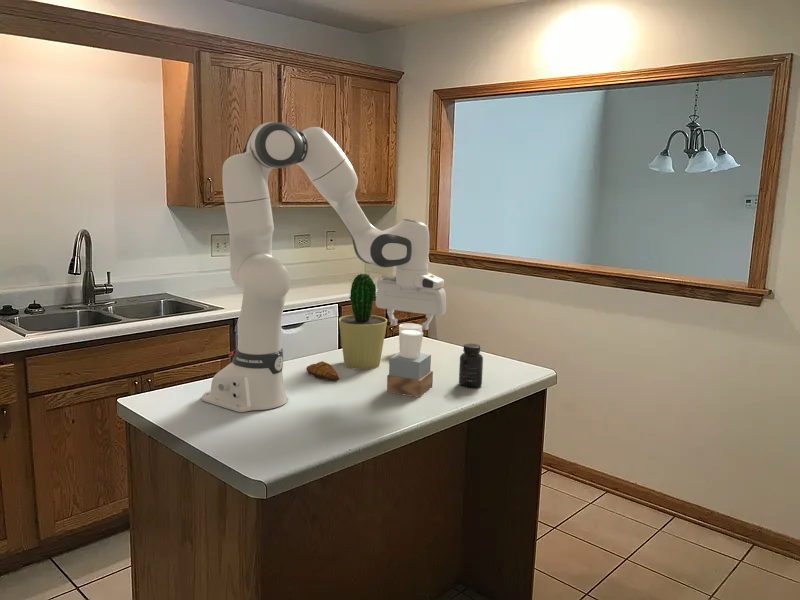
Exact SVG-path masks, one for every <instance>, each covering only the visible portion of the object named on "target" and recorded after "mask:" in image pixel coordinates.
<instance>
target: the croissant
mask: <svg viewBox="0 0 800 600" xmlns="http://www.w3.org/2000/svg"><path fill="white" fill-rule="evenodd" d="M305 368H306V372H307V373H308V374H309V375H310V376H313V377H315V378H316V379H321V380H326V381H329V382H330V381H332V382H338V381H339V380H340V375H339V373H338V372H337V370H336V369H335V368H334V367H333V366H332V365H331V364H330V363H328V362H326V361H322V360H321V361H318V362H317V363H312V364H310V365H307V366H306V367H305Z"/></svg>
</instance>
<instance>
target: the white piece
mask: <svg viewBox="0 0 800 600" xmlns="http://www.w3.org/2000/svg"><path fill="white" fill-rule="evenodd" d="M398 333H399V334H398V336H399V338H398V341H399V343H400V344H399V343H398V344H399V352H400V356H401V357H403V358H407V359H416V358H419V357H420V353H421V349H422V343H423V338H424V332H423V331H422V332H421V331H419V330H413V329H404V330H400V331H399V330H398Z"/></svg>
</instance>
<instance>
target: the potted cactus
mask: <svg viewBox="0 0 800 600" xmlns="http://www.w3.org/2000/svg"><path fill="white" fill-rule="evenodd" d="M353 278H354V279H353V280H352V279H351V280H349V282H350V283H351V285H349V287H350V292H348V294H349V299H350V300H349V299H348V300H347V301H348V302H349V303H348V304H351V310H352V311H350V312H351V314H349V315H344V316H341V317H339V318H338V322H339V323H338V325H339V332H340V341H341V346H342V347H341V348H342V355H343V356H342V357H343V363H344V366H345V365H346V366H345V367H347V368H349V369H353V368H354V369H353V370H372V368H373V369H376V368H378V367H379V366H380V364H381V359H382V354H383V353H382V352H383V346H384V342H385V337H386V336H385V335H386V330H387V325H388V324H387V323H388V319H387V318H385V317H383V316H379V315H374V314H373V315H372V312H373V310H375V308H374V305H375V301H376V295H377V290H378V289H377V282H375V283H374V280H375V279H374V277H373V278H372V277H371V276H370V273H368V274H367V273H357V275H355V276H353Z"/></svg>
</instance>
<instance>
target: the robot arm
mask: <svg viewBox="0 0 800 600" xmlns="http://www.w3.org/2000/svg"><path fill="white" fill-rule="evenodd" d="M348 158H349V157H347V155H346V154H345V153H344V151H343V150H342V148H341V147H340V146H339V144H338V143H337V142H336V141H335V140H334V138H333V137H332V136H331V135H330V134H329V133H328V132H327V131H326V130H325V129H323V128H322V127H320V126H311V127H307V128H305V129H303V130H302V131H300V130H298V129H296V128H294V127H292V126H291V125H289V124H286V123H283V122H279V121H278V122H277V121H267V122H264V123H262V124H259V125H257V126H256V127H255V128H253V130H252V131H251V132H250V133H249V135H248V137H247V140H246V144H245V146H244V149H243V150H242V153H236V154H233V155H231V156H229V157H228V158H227V159H225V161H224V162H223V165H222V174H221V175H222V192H223V194H222V195H223V201H224V207H225V213H226V214H225V215H226V220H227V226H228V233H229V262H230V269H229V274H230V277H231V279H232V282H233V283H234V285H235V286H236V287H237V288H238V289H239V290H241V292H242V301H241V307H240V308H241V309H240V312H239V313H240V314H239V316H238V319H237V348H236V349H234V350H233V351H229V355H228V357H229V358H230V357H233V358H232V359H231V362H230V363H229V364H227V365H226V366H225V367H223V368H222V369H221V370H220V371H218V372H217V373H215V374H214V376H213V378H212V380H211V384H210V385H211V386H210V389H208V390H207V391H206V392H204V393H203V394H202V396H201V401H203V402H206V403H208V404H212V405H214V406H215V405H216V406H218V407H222V408H225V409H228V410H231V411H235V412H237V413H246V412H250V411H262V410H270V409H274V408H278V407H282V406H283V405H285V404H286V403H287V402H288V399H289V398H288V396H287V394H286V393H287V392H286V389H285V383H284V378H283V368H284V350H283V347H282V319H283V311H284V307H285V303H286V298H287V296H286V295H287V294H288V293H289V290H290V288H291V284H292V283H291V282H292V280H291V276H290V272H289V271H288V269H287V268H286V267H285V265H284V264H283V263H282V262H281V261H280V260H279V259H276V258H274V256H273V251H272V250H273V247H272V246H273V234H274V231H275V225H274V219H273V218H274V217H273V210H272V205H271V204H272V203H271V197H270V192H269V187H268V186H269V185H268V182H269V181H268V180H269V175H270V172H271V171H272V169H273V170H274V169H283V168H288V167H290V166H291V167H292V166H294V165H298V167H300V168H301V170H303V172H305V174H306V175H307V177H308V179H309V180H310V182H311V183H312V185H313V186H314V187H315V189H316V190H317V191H318V192H319V194H321V196H322V197H323V198H324V199H325V201H327V203H328V204H330V205H329V206H331V207H332V208H333V209H334V211H335V213H337V215H338V217H339V218H340V220H341V221H342V224H343V225H344V227H345V228H346V230H347V231H348V233H349V235H350V237H351V240H352V245H353V249H354V253H355V255H356V257H357V258H358V259H359V260H360V261H361V262H362V263H364V264H365V263H366V264H369V265H374V266H376V267H380V268H382V269H383V268H385V269H386V268H392V267H396V269H395V274H396V275H395V276H392V275H391V276H387V275H382V276H380V277H379V278H378V279H377V281H376V290H377V291H376V297H375V307H376V308H378V309H382V310H386V313H387V316H388V319H389V320H390V324H389V325H390V326H394V327H395V326H397V325H398V318H395V315H394V313H395V311H400V312H408V313H414V314H421V315H422V314H424V315H425V318H426V319H427V320H426V321H424V322H422V323H421V325H422V331H423V330H424V331H427V330H429V328H430V323H431V321H432V320H433V318H434V316H439V317H440V316H442V315H444V314H445V313H446V312H447V294H446V293H447V292H446V290H445V289H444V288H443V287H444V285H445V279H443V278H441V277H440V276H437V275H434V274H433V273H431V272H429V265H428V258H429V254H430V230H429V227H428V225H427V224H426V223H424V222H421V221H419V220H418V221H417V220H412V219H410V218H409V219H408V218H405V219H401V221H399V222H397V224H395V225H393V226H391V227H389V228H386V229H383V230H381V229H378V228H377V227H375V226H374V225H372V224H371V222H370V221H369V219H368V218H367V216H366V215H365V212H364V211H363V210H362V208H361V206H360V205H359V203H358V201H357V198H356V190H357V188H358V184H359V178H358V176H357V173H356V171H355V169H354V168H355V167H353V165H352V163H351V161H350V160H349V159H348Z"/></svg>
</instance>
